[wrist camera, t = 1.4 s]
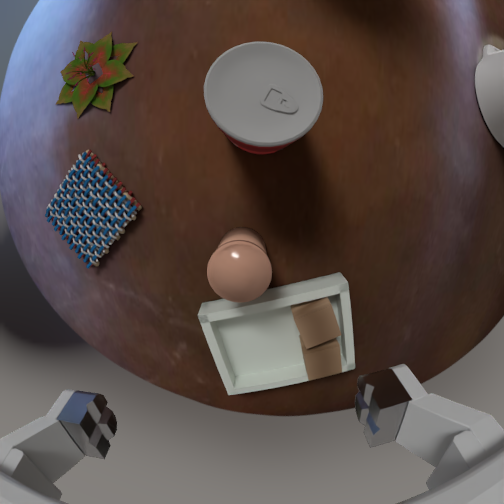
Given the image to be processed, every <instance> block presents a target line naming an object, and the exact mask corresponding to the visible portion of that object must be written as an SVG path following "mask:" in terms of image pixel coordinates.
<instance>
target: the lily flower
mask: <svg viewBox="0 0 504 504" xmlns="http://www.w3.org/2000/svg"><path fill="white" fill-rule="evenodd" d="M111 34H112V32H111V33H110V34H108V35H107V36H105V37H104V38H103V39H100V40H99V41H97V42H96V43H95V44H93V43H89V42H84V43H83V42H82V41H80V44H79V47H78V50H77V52H76V55H74V54H73V55H74V56H75V60H73V61H71V62H70V63H69V64H68V65H67V66H66V67H65V69H64V70H62V71H61V73H62V76H63V80H64V81H65V82H66V84H65V85H64V86H63V88H62V90H61V93H60V95H59V100H58V101H57V103H56V104H61V103H68V102H72V103H73V106H74V109H75V111H76V112H77V117H78V118H79V116H80V115H81V113H82V112H83V110H84V109H85V108H86V107H87V105H88V104H89V103H90V102H91V103H92V104H93V105H94V106H96V107H98V108H101V109H107V111H109V112H110V107H111V100H112V95H113V84H114V83H117V82H120V81H122V80H125V79H126V78H128V77H129V78H130V77H134V76H133V75H132V74H131V73H130V72H129V71H128V70H126V67H125V66H124V65H123V62H124V61H125V60H126V58H127V57H128V55H129V54H130V52H131V51H132V49H133V46H135V45H136V44H137V43H138V42H136V43H128V44H126V43H121V44H117V45H114V46H112V37H111ZM85 51H86V52H87V53H88V61H87V60H85ZM118 55H119V56H118ZM112 56H118V57H117V59H116V60H109V58H110V57H112ZM108 60H109V61H108ZM96 63H99V64H100V66H101V68H102V71H103V75H101V76H100V77H99V78H98V79H97V80H96V81H94V82H93V83H91V84H89V82H88V78H89V77H90V76H93V75H94V73H95V71H93V69H92V66H93V65H95V64H96ZM89 68H90V70H89ZM87 70H88V71H87ZM92 72H93V73H92ZM86 75H89V76H87V77H88V78H87V77H86ZM77 84H78V85H77ZM76 85H77V86H76ZM98 85H99V86H100V87H104V88H103V94H102V93H100V92H98V91H97V88H98ZM74 86H76V88H75V89H74V91H72V90H73V87H74ZM71 91H72V92H71Z"/></svg>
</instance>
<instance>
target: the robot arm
mask: <svg viewBox="0 0 504 504" xmlns="http://www.w3.org/2000/svg"><path fill="white" fill-rule="evenodd" d="M475 88H476V94H477V99H478V103H479V106H480V109H481V112H482V115H483V117H484V120H485V122H486V124H487V126H488V128H489V130H490V131H491V133H492V134H493V136H494V137H495V139H496V140H497V141H498V142H499V143H500V144H501V145H502V146H503V147H504V50H499V49H497V48H495V47H493V46H492V45H485V46H484V48H483V58H482V60H481V61H480V62H479V64H478V65H477V68H476V72H475ZM357 386H358V388H359V393H358V394H357V395H356V399H355V409H356V414H357V417H358V420H359V422H360V423H362V424H363V425H365V429H364V434H365V437H366V439H367V442H368V444H369V446H370V447H374V446H377V445H381V444H384V443H388V442H391V441H394V440H396V441H395V442H397V443H398V444H400V445H401V446H403V447H405V448H406V449H407V450H409V451H411V452H412V453H414V454H415V455H417V456H418V457H420V458H422V459H423V460H425V461H426V462H428V463H430V464H431V465H433V466H435V467H436V468H435V470H434V471H433V473H432V474H431V475H430V477H429V479H428V480H427V482H426V484H427V486H428V488H429V490H428V491H426V492H424V493H422V494H419V495H417V496H415V497H412V498H410V499H407V500H405V501H402V502H400V503H397V504H504V430H503V429H502V427H501V426H500V425H499V424H498V422H497V421H496V420H495V419H494V417H493V416H492V415H491V414H487V413H485V412H482V411H479V410H476V409H473V408H470V407H467V406H465V405H462V404H459V403H456V402H454V401H451V400H449V399H446V398H443V397H440V396H438V395H435V394H433V393H431V394H428V393H427V392H426V391H425V389H424V388H423V387H422V385H421V384H420V383H419V381H418V380H417V379H416V377H415V376H414V375H413V373H412V372H411V371H410V370H409V368H408V367H407V366H406V365H405V364H401V365H398V366H395V367H391V368H389V369H385V370H381V371H377V372H373V373H369V374H365V375H361V376H359V378H358V383H357ZM106 405H107V401H106V399H105V397H104V395H101V394H98V393H91V392H83V391H75V390H70V389H67V390H64V391H63V392H62V394H61V395H60V396H59V398H58V399H57V401H56V402H55V404H54V405H53V406H52V408H51V409H50V411H49V412H48V414H47V415H46V416H45V417H43V416H42V417H40V418H38V419H36V420H35V421H33V422H31V423H29V424H27V425H25V426H23V427H21V428H20V429H18V430H16V431H14V432H12V433H10V434H8V435H6V436H4V437H2V438H0V504H67V503H65V502H62V501H60V498H61V495H62V493H61V491H60V490H59V489H58V488H57V487H56V486H55V485H54V484H53V483H54V482H55V481H57V480H58V479H59V478H60V477H61V476H62V475H64V474H65V473H66V472H67V471H69V470H70V469H71V468H72V467H73V466H74V465H76V464H77V463H78V462H79V461H80V460H81V459H83V458H84V457H85V455H86V456H91V457H96V458H101V459H105V457H106V455H107V452H108V450H109V448H110V443H109V439H111V438H112V437H114V435H115V433H116V430H117V421H116V417H115V415H114V413H113V412H112V411H111V410H110V409H109V408H108V407H106Z"/></svg>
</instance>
